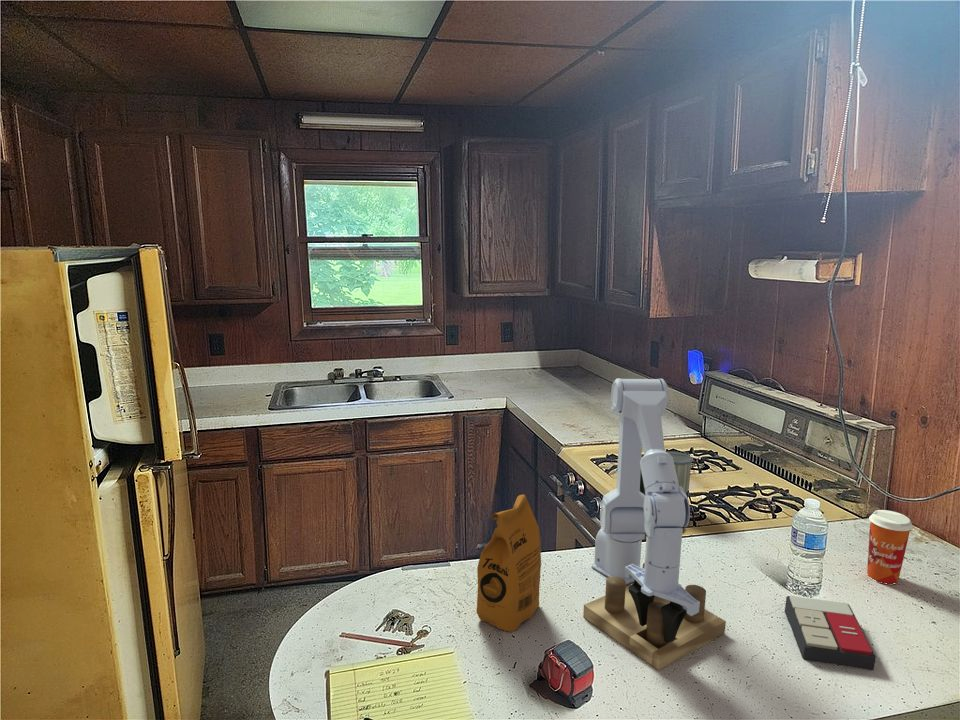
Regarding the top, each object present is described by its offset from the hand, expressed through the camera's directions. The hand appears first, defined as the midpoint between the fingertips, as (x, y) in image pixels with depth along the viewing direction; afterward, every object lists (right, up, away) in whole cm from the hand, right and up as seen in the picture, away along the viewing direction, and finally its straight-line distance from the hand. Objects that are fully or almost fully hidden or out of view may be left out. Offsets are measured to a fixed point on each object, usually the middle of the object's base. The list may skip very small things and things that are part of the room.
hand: (657, 631), depth 110 cm
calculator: (+32, -4, +4) cm, 32 cm away
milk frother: (+18, +7, +53) cm, 56 cm away
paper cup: (+55, +1, +25) cm, 60 cm away
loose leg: (0, -3, +1) cm, 3 cm away
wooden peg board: (+1, -2, +7) cm, 8 cm away
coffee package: (-25, -1, +11) cm, 28 cm away
